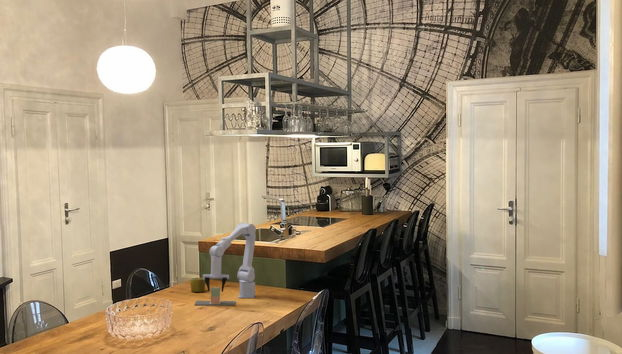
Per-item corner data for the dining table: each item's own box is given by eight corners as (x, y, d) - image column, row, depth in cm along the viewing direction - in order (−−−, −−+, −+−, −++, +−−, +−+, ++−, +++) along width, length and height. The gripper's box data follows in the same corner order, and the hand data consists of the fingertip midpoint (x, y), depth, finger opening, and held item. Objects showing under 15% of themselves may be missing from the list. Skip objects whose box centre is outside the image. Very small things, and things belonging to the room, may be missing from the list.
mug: (206, 290, 310) (202, 274, 312) (190, 295, 310) (186, 279, 312) (211, 290, 322) (207, 274, 324) (196, 294, 322) (192, 279, 324)
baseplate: (235, 302, 293) (235, 300, 293) (234, 305, 285) (234, 304, 285) (196, 301, 291) (196, 300, 291) (194, 305, 283) (194, 304, 283)
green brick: (220, 294, 290) (220, 287, 290) (219, 296, 286) (219, 289, 286) (211, 294, 290) (212, 287, 290) (210, 296, 285) (211, 289, 285)
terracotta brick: (219, 301, 290) (219, 294, 290) (218, 303, 286) (219, 296, 286) (211, 301, 290) (211, 294, 290) (210, 303, 285) (210, 296, 285)
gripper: (202, 268, 283) (201, 292, 283) (228, 268, 284) (227, 292, 284) (203, 265, 290) (203, 289, 290) (229, 266, 291) (229, 289, 291)
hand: (215, 291), depth 288 cm, fingers open, 7 cm apart
